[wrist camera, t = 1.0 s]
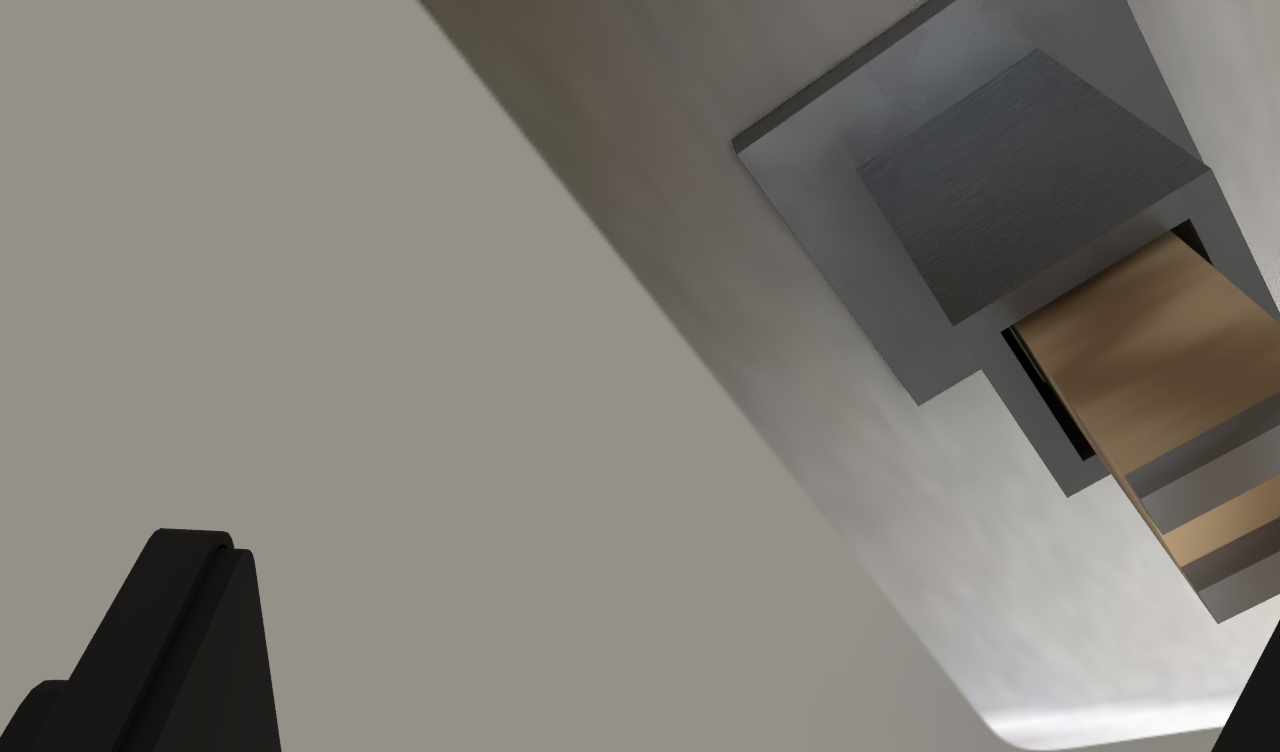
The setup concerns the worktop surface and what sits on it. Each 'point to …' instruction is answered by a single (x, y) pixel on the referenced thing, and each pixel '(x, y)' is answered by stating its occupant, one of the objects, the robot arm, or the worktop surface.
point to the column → (1177, 409)
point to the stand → (990, 189)
